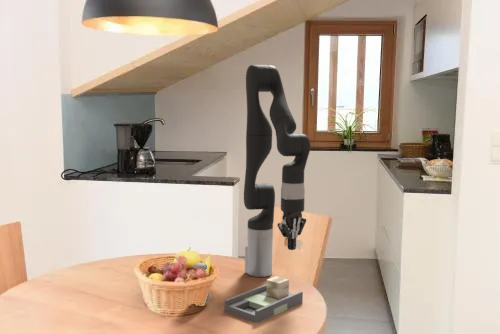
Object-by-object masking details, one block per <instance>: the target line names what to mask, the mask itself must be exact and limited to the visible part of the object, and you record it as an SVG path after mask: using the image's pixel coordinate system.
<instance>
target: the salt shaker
mask: <svg viewBox="0 0 500 334" xmlns="http://www.w3.org/2000/svg"><path fill="white" fill-rule="evenodd" d="M193 268H202V269H204V270H206V269H207V270H208V265H207V263H205V262H201V261H200V262H196V263H194V264H193V265H192V269H193ZM209 300H210V293H208V296H207V299H206V303H205V306H206V305H207V303H208V302H209Z"/></svg>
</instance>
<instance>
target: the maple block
mask: <svg viewBox="0 0 500 334" xmlns="http://www.w3.org/2000/svg"><path fill="white" fill-rule="evenodd" d="M266 284H267V290H266V295H268V296H271V297H274V298H277V299H280V298H282V297H285V296H287V295H289V292H290V291H289V289H290V286H289V285H290V279H288V278H285V277H281V276H277V275H276V276H274V277H271V278H268V279H266Z"/></svg>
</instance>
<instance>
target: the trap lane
mask: <svg viewBox="0 0 500 334" xmlns="http://www.w3.org/2000/svg"><path fill="white" fill-rule="evenodd" d="M266 290H267V283H265V284H263V285H260V286H257V287H255V288H253V289H249V290H247V291H244V292H241V293H239V294H236V295H234V296H231V297H229V298H226V299H224V303H223V304H224V308H223V309H224V313H225V312H226V313H228V314H231V315H234V316H235V317H239V318H243V319H244V320H247V321H250V322H254V323H256V324H259V323H261V322H263V321H265V320H267V319H270V318H272V317H274V316H277V315H278V314H281V313H283V312H285V311H286V310H289V309H292V308H294V307H295V306H298V305H300V304H302V303H303V301H304V300H303V297H304V295H303V293H304V292H303V291H301V290H300V291H296V292H294V293H292V292H290V291H289V295H287V296H285V297H282V298H280V299H277V298H274V297H271V296H268V295H266Z"/></svg>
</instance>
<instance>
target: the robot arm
mask: <svg viewBox="0 0 500 334" xmlns="http://www.w3.org/2000/svg"><path fill="white" fill-rule="evenodd" d="M245 73H246V74H245V92H246V133H245V149H246V150H245V154H246V156H245V175H244V187H243V203H244V207H245V209H246V210H250V211H251V210H261V211H260V212H259V213H258V214H257V215H255V216H253V217H250V218H249V219H248V220H247V239H246V240H247V242H246V243H247V246H245V248H244V273H246V275H248V276H251V277H256V278H262V277H263V278H264V277H265V278H266V277H269V276H272V274H273V246H274V245H273V243H274V242H273V241H274V237H273V236H274V232H273V231H274V221H275V219H274V218H275V204H276V203H275V202H276V191H275V187H274V185H273V184H272V183H256V180H257V176H258V174H259V171H260V169H261V167H262V165H263V164H264V162H265V160H266V159H267V158H268V156H269V154H270V153H271V151H272V147H273V128H274V130H275V137H276V149H277V152H278V153H279V154H280V155H281V156H283V157H294V159H293V160H292V162H288V163H285V164H283V166H282V168H281V169H282V170H281V171H282V172H281V188H280V211H281V212H283V214H282V217H281V218H282V219H281V222H278V223H277V228H278V229H279V231H280V233H281V234H282V238H287V246H286V247H287V250H289V251H290V250H291V251H294V250H296V248H297V238H298V236H301V234H302V232H303V229H304V227H305V225H306V223H307V218H304V217H303V215H302V214H303V212H304V211H305V192H306V190H305V170H306V169H305V168H306V166H307V162H308V158H309V155H310V152H311V145H312V144H311V140H310V138H309V137H308V135H307V134H305V133H295V131H296V130H297V123H296V120H295V118H294V117H293V115H292V112H291V110H290V108H289V104H288V102H287V97H286V93H285V89H284V86H283V81H282V78H281V75H280V72H279V70H278V68H277V67H276V66H275V65H268V64H250V65H249V66H248V67H247V69H246V72H245ZM259 92H260V93H261V92H262V93H269V92H270V94H271V95H272V97H273V98H272V102H271V104H270V107H269V119H268V118H267V116H266V115H265V113H264V111H263V109H262V107H261V102H260V93H259ZM269 120H270V122H271V123H272V126H273V128H272V126H271V123H270V122H269Z"/></svg>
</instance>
